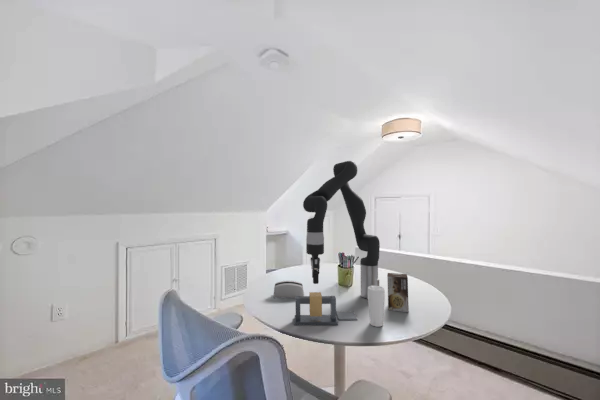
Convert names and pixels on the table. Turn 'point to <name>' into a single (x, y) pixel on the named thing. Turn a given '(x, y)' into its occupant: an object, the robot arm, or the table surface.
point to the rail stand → (316, 320)
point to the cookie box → (398, 292)
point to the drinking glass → (376, 305)
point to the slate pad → (346, 315)
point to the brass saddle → (315, 303)
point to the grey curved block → (288, 289)
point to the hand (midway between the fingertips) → (315, 280)
